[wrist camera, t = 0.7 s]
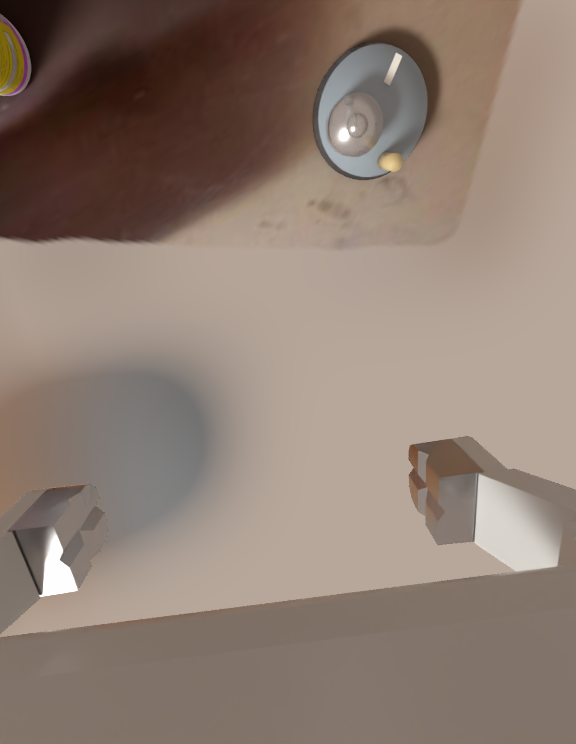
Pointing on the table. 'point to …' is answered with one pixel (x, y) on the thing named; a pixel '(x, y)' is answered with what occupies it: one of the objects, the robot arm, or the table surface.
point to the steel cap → (354, 125)
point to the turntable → (395, 97)
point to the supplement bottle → (12, 60)
